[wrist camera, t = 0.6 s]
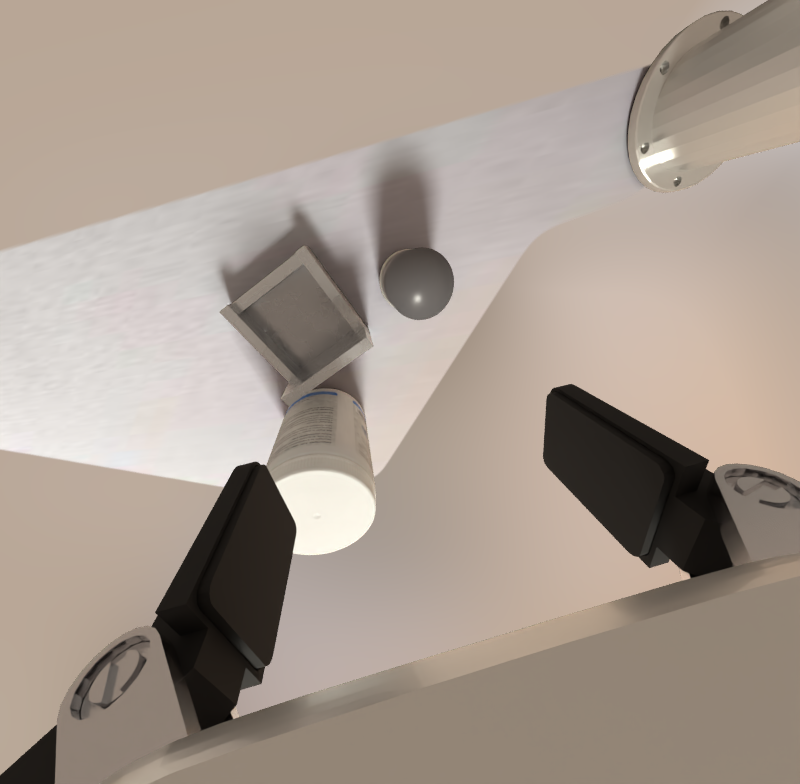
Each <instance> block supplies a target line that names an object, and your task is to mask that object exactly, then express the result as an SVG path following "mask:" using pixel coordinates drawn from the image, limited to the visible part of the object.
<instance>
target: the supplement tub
mask: <svg viewBox="0 0 800 784" xmlns="http://www.w3.org/2000/svg"><path fill="white" fill-rule="evenodd" d="M266 467H267V468H268V470H269V472H270V474H271V476H272V478H273V480H274V482H275V484H276V486H277V488H278V490H279V492H280V494H281V496H282V497H283V499H284V501H285V503H286V505H287V507H288V509H289V511H290V513H291V515H292V517H293V519H294V521H295V523H296V529H297V533H296V539H295V544H294V549H293V553H295V554H303V555H318V554H325V553H330V552H334V551H337V550H340V549H342V548H345V547H347V546H349V545H350V544H352V543H353V542H355V541H356V540H358V539H359V538H360V537H361V536H363V535H364V534H365V532H366V531H367V530H368V529H369V527H370V525H371V524H372V522H373V520H374V517H375V512H376V503H375V501H376V490H375V483H374V475H373V468H372V461H371V454H370V447H369V440H368V433H367V426H366V419H365V414H364V411H363V409H362V407H361V406H360V404H359V403H358V402H357V401H356V400H355V399H354V398H353V397H352V396H350V395H349V394H347V393H345V392H343V391H340V390H336V389H329V388H320V389H314V390H311V391H310V392H308V393H307V394H306V395H304V396H303V397H301V398H300V399H299V400H297V401H296V402H294V403H293V404H291V405H290V406H289V408H288V410H287V412H286V414H285V417H284V419H283V422H282V425H281V428H280V430H279V433H278V436H277V438H276V441H275V444H274V446H273V449H272V452H271V455H270V457H269V460H268V463H267V465H266Z"/></svg>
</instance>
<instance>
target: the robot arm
mask: <svg viewBox="0 0 800 784" xmlns="http://www.w3.org/2000/svg"><path fill="white" fill-rule="evenodd" d="M797 142H800V0H768V1H766V2H765V3H763V4H761V5H760V6H758V7H757V8H755V9H754V10H752V11H750V12H749V13H747V14H745V15H744V16H743V15H741V14H739V13H736V12H733V11H717V12H714V13H711V14H708V15H705V16H703V17H702V18H700V19H699V20H697V21H695V22H694V23H692V24H691V25H689V26H688V27H686V28H685V29H684V30H682V31H681V32H680V33H678V34H677V35H676V36H675V37H674V38H673V39H672V40H671V41H670V42H669V43H668V44H667V45H666V46H665V47H664V48H663V49H662V50H661V52H660V53H659V55H658V56H657V57H656V59H655V60H654V61H653V63H652V64H651V66H650V68H649V70H648V71H647V73H646V75H645V77H644V79H643V81H642V83H641V85H640V88H639V90H638V93H637V95H636V98H635V101H634V105H633V108H632V112H631V116H630V122H629V129H628V152H629V159H630V163H631V166H632V169H633V172H634V173H635V175H636V177H637V178H638V180H639V181H640V182H641V183H642V184H643V185H644V186H645V187H646V188H648V189H650V190H653V191H655V192H661V193H668V192H675V191H679V190H683V189H687V188H689V187H691V186H693V185H696V184H698V183H699V182H701V181H702V180H704V179H705V178H706V177H708V176H709V175H710V174H711V173H712V172H714V171H715V170H716V169H717V168H718V167H719V166H720V165H721V164H722V163H723V162H724V161H728V160H732V159H736V158H739V157H743V156H747V155H751V154H754V153H758V152H762V151H766V150H770V149H774V148H777V147H781V146H785V145H789V144H793V143H797ZM543 459H544V462H545V464H546V466H547V467H548V468H549V469H550V470H551V471H552V472H553V474H554V475H555V476H556V477H557V478H558V479H559V480H560V481H561V482H562V483H563V484H564V485H565V486H566V487H567V488H568V489H569V490H570V491H571V492H572V493H573V495H575V497H576V498H578V499H579V501H580V502H581V503H582V504H583V505H584V506H585V507H586V508H587V509H588V510H589V511H590V512H591V513H592V514H593V515H594V516H595V518H596V519H597V520H598V521H599V522H600V523H601V524H602V525H603V526H604V527H605V528H606V529H607V530H608V531H609V532H610V533H611V534H612V535H613V536H614V537H615V539H616V540H618V542H619V543H620V544H621V545H622V546H623V547H624V548H625V549H626V550H627V551H628V552H629V553H630V554H632V555H633V556H637V557H639V558H640V559H641V560H642V561H643V562H644V563H645V564H646V565H647V566H648V567H649V568H651V567H654V566H658V565H661V564H664V563H668V562H669V559H671V561H672V562H674V563H675V564H676V565H677V566H678V568H679V572H680V576H681V581H680V582H676V583H673V584H669V585H666V586H663V587H659V588H656V589H653V590H649V591H646V592H643V593H639V594H636V595H633V596H629V597H626V598H622V599H619V600H616V601H612V602H609V603H606V604H603V605H599V606H596V607H592V608H589V609H585V610H582V611H579V612H576V613H572V614H569V615H566V616H562V617H559V618H555V619H552V620H549V621H546V622H542V623H539V624H536V625H532V626H529V627H526V628H522V629H519V630H516V631H513V632H509V633H506V634H503V635H499V636H496V637H493V638H490V639H486V640H483V641H480V642H476V643H473V644H470V645H467V646H463V647H460V648H457V649H453V650H451V651H447V652H444V653H441V654H437V655H434V656H431V657H427V658H424V659H421V660H418V661H414V662H411V663H408V664H405V665H402V666H398V667H395V668H392V669H389V670H385V671H382V672H379V673H376V674H372V675H369V676H366V677H363V678H360V679H356V680H353V681H350V682H347V683H343V684H340V685H337V686H334V687H330V688H327V689H324V690H321V691H318V692H314V693H311V694H308V695H305V696H302V697H299V698H296V699H293V700H289V701H286V702H284V703H280V704H277V705H274V706H271V707H269V708H265V709H262V710H259V711H257V712H253V713H250V714H247V715H244V716H242V717H240V716H239V714H238V711H237V709H236V705H237V701H238V697H239V693H240V690H242V689H245V688H248V687H252V686H255V685H259V684H261V683H262V679H263V673H264V669H265V666H267V665H269V664H270V662H271V659H272V656H273V651H274V647H275V642H276V637H277V632H278V626H279V621H280V616H281V611H282V606H283V601H284V595H285V590H286V585H287V580H288V575H289V569H290V564H291V559H292V554H293V549H294V544H295V539H296V533H297V529H296V523H295V521H294V519H293V517H292V515H291V513H290V511H289V509H288V507H287V505H286V503H285V501H284V499H283V497H282V496H281V494H280V492H279V490H278V488H277V486H276V484H275V482H274V480H273V478H272V476H271V474H270V472H269V470H268V468H267V467H266V466H265V465H260V464H259V463H258V462H252V463H248V464H244V465H240V466H237V467H236V468H235V469H234V471H233V472H232V474H231V476H230V478H229V480H228V481H227V483H226V485H225V487H224V489H223V490H222V492H221V494H220V496H219V498H218V500H217V501H216V503H215V505H214V507H213V509H212V510H211V512H210V514H209V516H208V518H207V520H206V521H205V523H204V525H203V527H202V529H201V531H200V532H199V534H198V536H197V538H196V540H195V541H194V543H193V545H192V547H191V549H190V550H189V552H188V554H187V556H186V558H185V560H184V561H183V563H182V565H181V567H180V569H179V570H178V572H177V574H176V576H175V578H174V579H173V581H172V583H171V585H170V587H169V588H168V590H167V592H166V594H165V596H164V598H163V599H162V601H161V603H160V605H159V607H158V608H157V610H156V612H155V613H156V614H157V615H158V616H157V618H156V620H155V622H154V623H153V625H152V627H150V626H144V627H139V628H135V629H133V630H131V631H129V632H127V633H125V634H123V635H122V636H120V637H119V638H117V639H116V640H114V641H113V642H111V643H110V644H109V645H108V646H106V647H105V648H104V649H103V650H102V651H101V652H100V653H98V654H97V655H96V656H95V657H94V658H93V659H92V660H91V661H90V663H89V664H88V665H87V666H86V667H85V668H84V669H83V670H82V672H81V673H80V674H79V675H78V677H77V678H76V680H75V681H74V682H73V684H72V685H71V687H70V688H69V690H68V692H67V694H66V696H65V698H64V700H63V702H62V704H61V706H60V710H59V714H58V719H57V725H56V726H55V727H54V728H53V729H51V730H50V731H49V732H48V733H47V734H46V735H45V736H44V737H42V739H40V740H39V741H38V742H37V743H36V744H35V745H34V746H32V747H31V748H30V749H29V750H28V751H27V752H26V753H25V754H24V755H22V756H21V757H20V758H19V759H18V760H17V761H16V762H15V763H14V764H13V765H11V766H10V767H9V768H8V769H7V770H6V771H5V772H4V773H2V774H1V775H0V784H800V482H799V481H797V480H795V479H793V478H791V477H788V476H786V475H784V474H782V473H779V472H776V471H772V470H770V469H767V468H763V467H758V466H753V465H747V464H726V465H723V466H721V467H718V468H717V470H716V471H715V472H714V473H712V472H710V471H708V470H707V469H706V467H707V464H708V461H709V460H708V459H706V458H704V457H702V456H701V455H698V454H697V453H695V452H693V451H691V450H689V449H688V448H686V447H684V446H683V445H681V444H679V443H677V442H675V441H674V440H672V439H670V438H668V437H666V436H665V435H663V434H661V433H659V432H657V431H656V430H654V429H652V428H650V427H648V426H647V425H645V424H643V423H641V422H639V421H638V420H636V419H634V418H632V417H631V416H629V415H627V414H625V413H623V412H621V411H620V410H618V409H616V408H614V407H613V406H611V405H609V404H607V403H605V402H604V401H602V400H600V399H598V398H596V397H595V396H593V395H591V394H589V393H587V392H586V391H584V390H582V389H580V388H579V387H577V386H575V385H572V384H569V385H565V386H560V387H556V388H553V389H552V390H551V392H550V394H549V395H548V396H547V401H546V418H545V435H544V452H543Z"/></svg>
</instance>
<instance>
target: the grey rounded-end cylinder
mask: <svg viewBox="0 0 800 784" xmlns="http://www.w3.org/2000/svg"><path fill="white" fill-rule="evenodd" d="M379 283H380V289H381V292H382V294H383V296H384V298H385V299H386V300H387V302H388V303H389V304H390V305H391V306H393V307H394V308H396V309H397V310H398V311H399V312H400V313H401V314H402V315H404V316H406V317H408V318H410V319H415V320H424V319H428V318H431V317H433V316H435V315H437V314H438V313H440V312H441V311H442V310H443V309H444V308H445V306H446V305H447V304H448V302H449V300H450V298H451V296H452V292H453V287H454V277H453V272H452V269H451V267H450V265H449V263H448V261H447V260H446V259H445V258H444V257H443V256H442V255H441V254H440V253H438V252H437V251H435V250H432V249H429V248H415V249H403V250H400V251H397V252H395V253H394V254H392V255H391V256H390V257H389V258H388V259H387V260H386V261H385V263H384V264H383V266H382V269H381V272H380V278H379Z"/></svg>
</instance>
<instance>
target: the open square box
mask: <svg viewBox="0 0 800 784" xmlns="http://www.w3.org/2000/svg"><path fill="white" fill-rule="evenodd" d="M220 313H221V314H222V315H223V316H224V317H225V318H226V319H227V320H228V321H229V322H230V323H231V324H232V325H233V326H234V327H235V328H236V329H237V330H238V332H239V333H240V334H241V335H242V336H243V337H244V338H245V339H246V340H247V341H248V342H249V343H250V344H251V345H252V346H253V347H254V348H255V349H256V350H257V351H258V352H259V353H260V354H261V355H262V356H263V357H264V358H265V359H266V360H267V361H268V362H269V363H270V364H271V365H272V366H273V367H274V368H275V369H276V370H277V371H278V372H279V373H280V374H281V375H282V376H283V377H284V378H285V379H286V380H287V381H288V382H289V383H288V385H287V387H286V389H285V391H284V393H283V395H282V397H281V400H282V401H283V402H284V403H285V404H286V405H287V406H288V407H289V406H290V405H291V404H293V403H294V402H296V401H297V400H299V399H300V398H301V397H303V396H304V395H306V394H307V393H308V392H310V391H311V390H313V389H314V388H315V387H317V386H318V385H320V384H321V383H322V382H324V381H325V380H327V379H328V378H329V377H331V376H332V375H334V374H335V373H336V372H338V371H339V370H341V369H342V368H343V367H345V366H346V365H348V364H349V363H351V362H352V361H353V360H355V359H356V358H358V357H359V356H360V355H362V354H363V353H365V352H366V351H367V350H369V349H370V348H372V347H373V343H372V339H371V336H370V332H369V329H368V328H367V326H366V325H365V323H364V322H363V321H362V319H361V318H360V317H359V315H358V314H357V312H356V311H355V310H354V308H353V307H352V306H351V304H350V303H349V302H348V300H347V299H346V297H345V296H344V295H343V293H342V292H341V291H340V289H339V288H338V286H337V285H336V284H335V282H334V281H333V280H332V278H331V277H330V276H329V274H328V273H327V271H326V270H325V269H324V267H323V266H322V265H321V263H320V262H319V261H318V259H317V258H316V256H315V255H314V254H313V252H312V251H311V250H310V248H309V247H307V246H302V247H301V248H300V249H298V250H297V251H296V252H295V254H294V255H293V256H292V257H290V258H289V259H288V260H287V261H285V262H284V263H283V264H281V265H280V266H279V267H278V268H276V269H275V270H274V271H273V272H271V273H270V274H269V275H268V276H266V277H265V278H264V279H262V280H261V281H260V282H259V283H257V284H256V285H255V286H254V287H252V288H251V289H250V290H248V291H247V292H246V293H245V294H243V295H242V296H241V297H240V298H238V299H237V300H236V301H234V302H233V303H232V304H230V305H227V306H226V307H225V308H224V309H222V310H221V311H220Z"/></svg>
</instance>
